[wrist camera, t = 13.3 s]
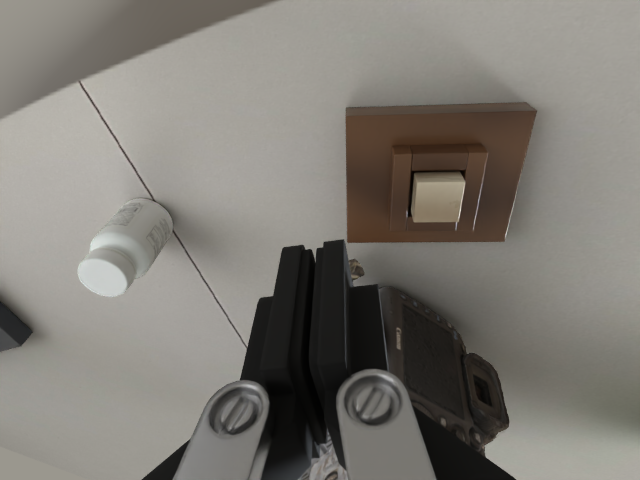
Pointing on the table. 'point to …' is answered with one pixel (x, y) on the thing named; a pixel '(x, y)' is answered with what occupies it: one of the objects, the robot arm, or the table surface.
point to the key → (437, 196)
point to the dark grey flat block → (11, 330)
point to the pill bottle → (125, 247)
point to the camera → (431, 377)
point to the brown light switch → (434, 168)
